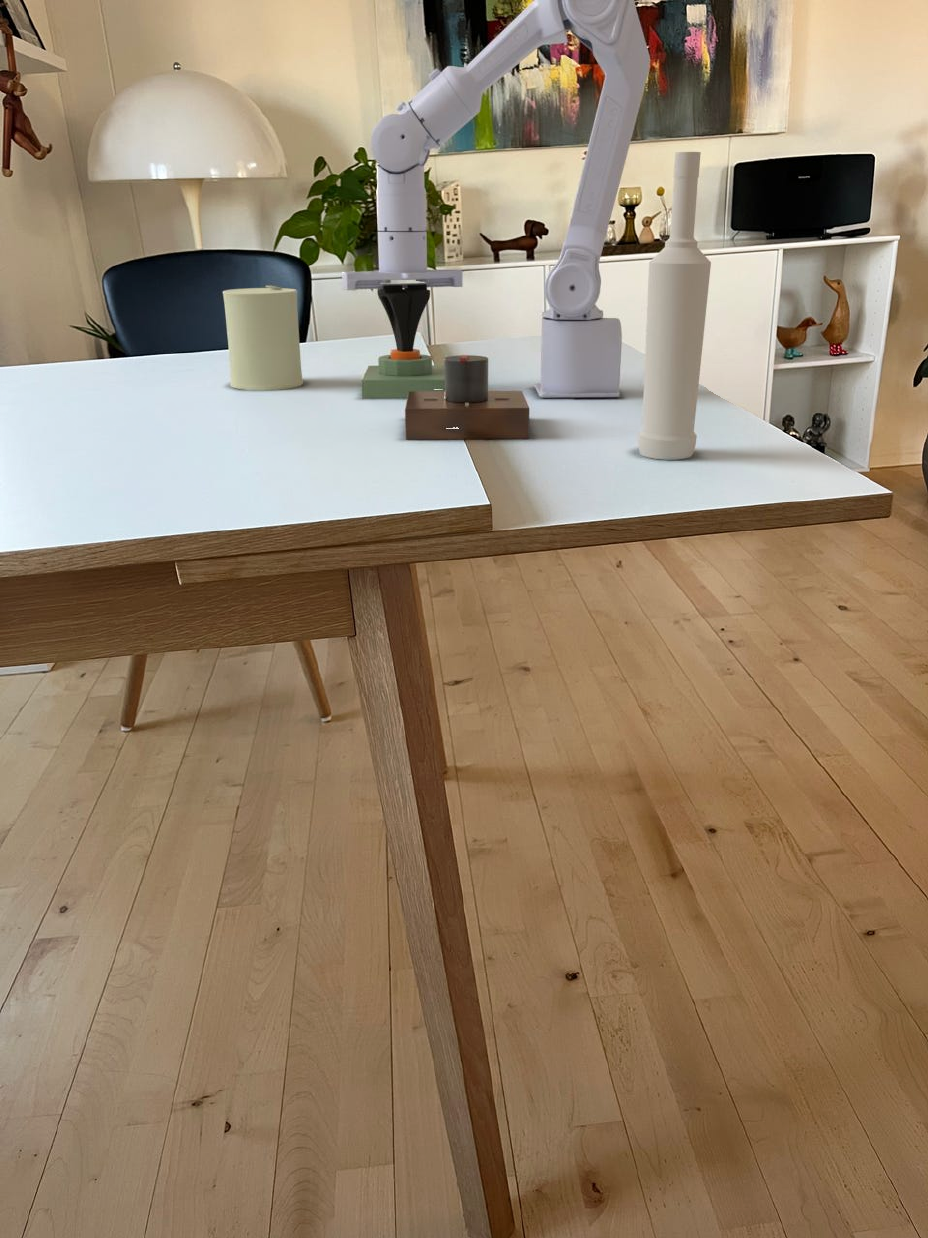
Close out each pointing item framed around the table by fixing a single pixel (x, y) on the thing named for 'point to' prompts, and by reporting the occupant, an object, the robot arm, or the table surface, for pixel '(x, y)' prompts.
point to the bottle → (675, 326)
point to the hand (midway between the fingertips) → (404, 350)
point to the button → (405, 354)
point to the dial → (466, 378)
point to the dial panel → (467, 416)
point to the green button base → (401, 377)
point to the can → (263, 338)
